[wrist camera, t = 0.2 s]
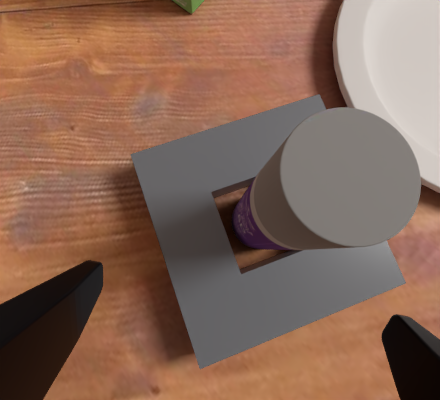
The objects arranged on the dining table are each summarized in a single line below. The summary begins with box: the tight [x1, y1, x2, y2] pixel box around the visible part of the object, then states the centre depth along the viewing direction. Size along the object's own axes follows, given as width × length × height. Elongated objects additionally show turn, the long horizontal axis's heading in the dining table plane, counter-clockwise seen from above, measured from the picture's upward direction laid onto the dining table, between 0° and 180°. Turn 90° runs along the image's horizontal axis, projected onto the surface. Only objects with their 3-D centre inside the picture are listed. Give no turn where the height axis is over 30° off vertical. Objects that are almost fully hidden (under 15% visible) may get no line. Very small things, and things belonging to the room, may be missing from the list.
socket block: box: [131, 94, 406, 369], centre depth 21 cm, size 16×16×3 cm
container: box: [231, 107, 421, 250], centre depth 15 cm, size 5×5×15 cm
